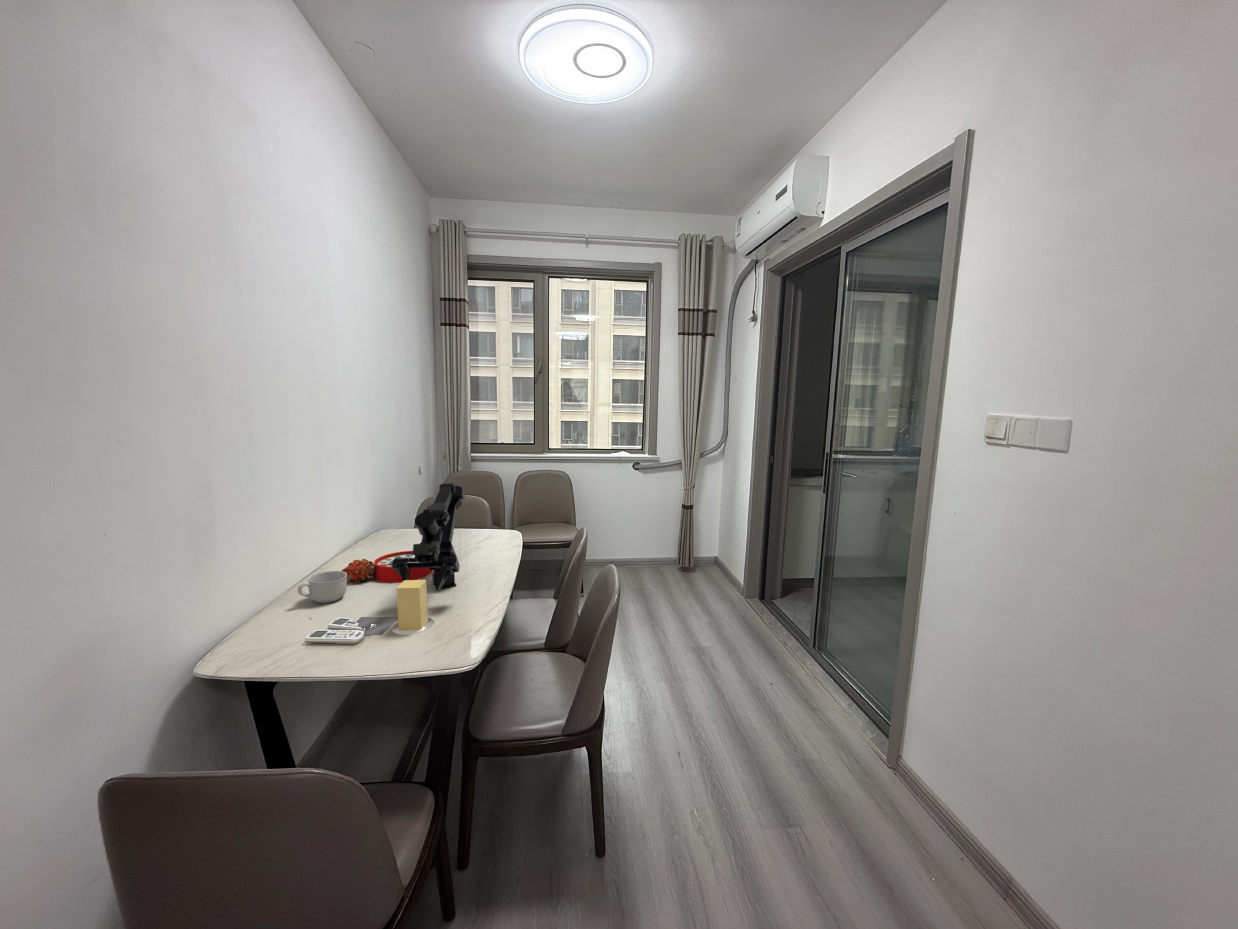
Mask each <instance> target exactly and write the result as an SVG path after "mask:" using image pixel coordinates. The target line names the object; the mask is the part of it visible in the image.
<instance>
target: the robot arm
mask: <svg viewBox="0 0 1238 929" xmlns="http://www.w3.org/2000/svg"><path fill="white" fill-rule="evenodd" d="M438 488H439V489H438V491H437V492H438V493H437V495H436V496H435V499H434V501H433V503H432V504H431V505H428V506H427V507H426V509H423V512H420V513H419V514H418V515H417V516H416V517H415V518H414V525H415V526H416V528H417V530H418V533H419V535H421V541H420V542H419V543H414V544H413V545H412V551H413V554H412V555H415V559H417V562H409V560H408V558H395V559H394V560H393V561H392V564H391V566H392V568H393V569H394V570H395V572H396V573H398V574H399V575H400V576H401V577H402V582H403V581H404V580H409V579H410V573H409V572H410V571H411V568H430V570H433V572H432V573H431V575H432V585H433V587H435V591H436V592H437V593H439V592H440V590H441V589H447V588H452V587H456V586H457V583H456V581H455V580H456V579H455V577H456V576H455V573H459V571H460V562H459V559H458V557H457V553H456V551H455V548H454V546H453V543H452V542H453V538H454V537H453V535H454V530H455V529H454V528H455V524H456V517H457V512H458V511H457V510H459V508H461V506H463V502H464V500H465V499H466V491H465V488H464V487H463V486H459V485H456V484H455V483H452V482H451V483H450V482H449V483H448V482H447V483H444V482H443V483H442V482H441V483H440V484H439V487H438ZM402 582H401V583H402Z"/></svg>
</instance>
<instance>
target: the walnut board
mask: <svg viewBox="0 0 1238 929" xmlns="http://www.w3.org/2000/svg"><path fill="white" fill-rule="evenodd" d="M396 621H398V616H361V617H360V618H359V619H358V620H356V621H355V622H357V623H359V624H358V627H361V628H362V629H364V628H365V632H364V634H363V635H362V636H365V635H366V636H382V635H384V634H385V632H387V631H388V630H389V629H390V627H391V626H392V625H394V624H395V622H396ZM371 624H377V625H376V626H375V627H372V628H370V627H371ZM351 626H352V625H351ZM351 626H349V627H351Z"/></svg>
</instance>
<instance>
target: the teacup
mask: <svg viewBox="0 0 1238 929" xmlns="http://www.w3.org/2000/svg"><path fill="white" fill-rule="evenodd" d="M307 580H308V582H302V583H301V584H299V585H298V586H297V587H298V588H297V593H298V594H299V595H300V596H302V597H304V598H308V599H309V600H313V601H314V602H317V603H319V604H328V603H329V604H330V603H334V602H337V601H338V600H340V599H341V598H342V597H343V596H344V595H345V594H346V593H347V585H348V581H347V573H346V572H343V571H342V570H325V571H320V572H317V573H313V574H311V575H310V576H308V579H307ZM304 587H307V589H308V593H304V592H303V588H304Z"/></svg>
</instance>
